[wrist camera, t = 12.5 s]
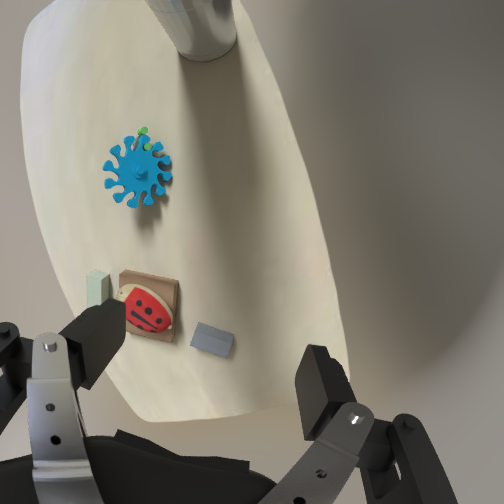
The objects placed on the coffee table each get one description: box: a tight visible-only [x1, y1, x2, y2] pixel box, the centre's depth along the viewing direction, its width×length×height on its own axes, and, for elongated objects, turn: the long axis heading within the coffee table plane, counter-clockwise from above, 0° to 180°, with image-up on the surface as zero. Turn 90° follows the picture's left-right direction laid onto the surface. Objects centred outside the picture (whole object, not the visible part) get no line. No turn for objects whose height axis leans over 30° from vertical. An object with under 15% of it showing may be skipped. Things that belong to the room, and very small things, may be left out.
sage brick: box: [87, 270, 109, 308], centre depth 40 cm, size 6×3×3 cm, turn 167°
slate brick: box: [190, 322, 234, 358], centre depth 41 cm, size 6×3×3 cm, turn 69°
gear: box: [102, 127, 172, 209], centre depth 34 cm, size 11×6×10 cm
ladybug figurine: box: [116, 284, 173, 333], centre depth 37 cm, size 7×10×4 cm
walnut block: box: [119, 270, 178, 343], centre depth 40 cm, size 10×9×3 cm
